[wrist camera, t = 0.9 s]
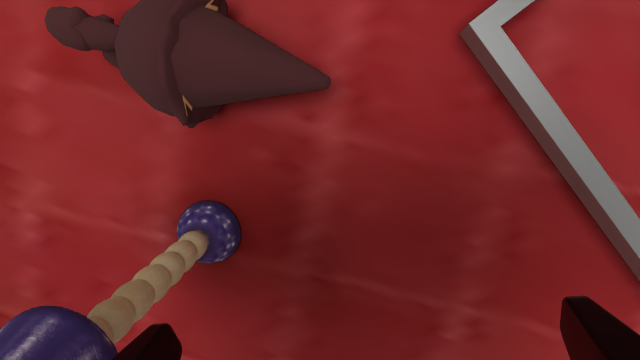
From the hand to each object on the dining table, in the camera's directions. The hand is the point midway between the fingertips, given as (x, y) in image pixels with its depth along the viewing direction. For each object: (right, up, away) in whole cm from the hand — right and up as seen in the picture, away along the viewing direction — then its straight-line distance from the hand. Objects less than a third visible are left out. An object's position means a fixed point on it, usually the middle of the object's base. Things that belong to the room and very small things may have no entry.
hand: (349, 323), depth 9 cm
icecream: (-7, +10, +15) cm, 20 cm away
